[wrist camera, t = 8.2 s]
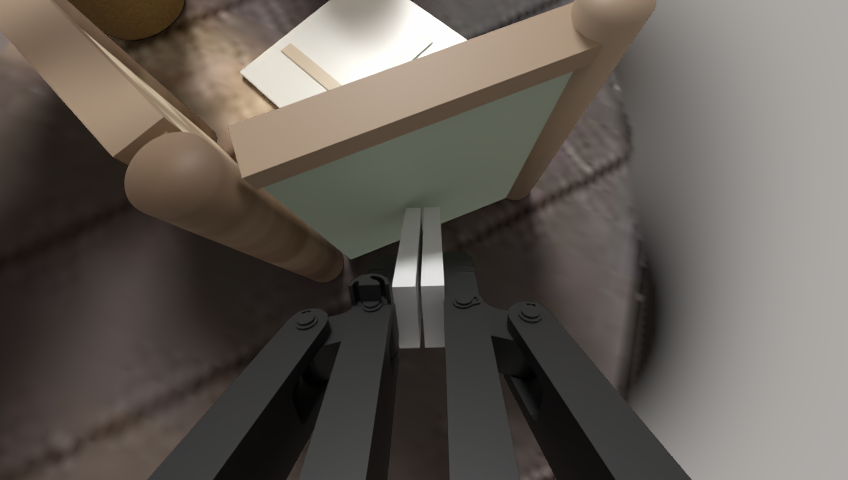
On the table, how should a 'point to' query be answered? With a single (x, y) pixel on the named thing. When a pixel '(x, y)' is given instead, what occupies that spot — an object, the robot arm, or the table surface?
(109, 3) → the plant pot
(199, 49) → the table surface
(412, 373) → the table surface
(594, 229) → the table surface
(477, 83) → the fence gate
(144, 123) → the fence fixed
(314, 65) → the card
